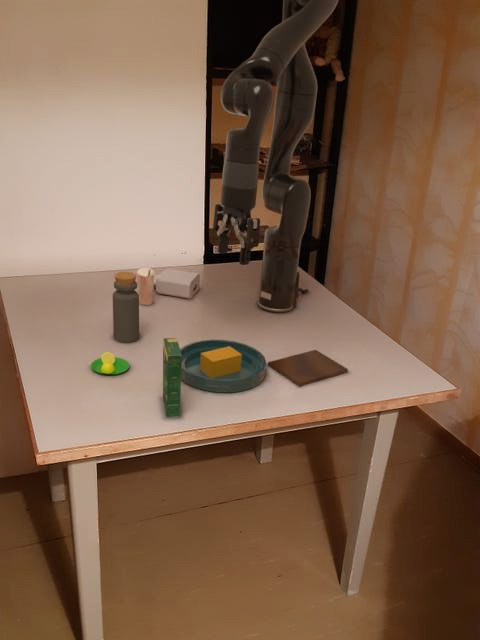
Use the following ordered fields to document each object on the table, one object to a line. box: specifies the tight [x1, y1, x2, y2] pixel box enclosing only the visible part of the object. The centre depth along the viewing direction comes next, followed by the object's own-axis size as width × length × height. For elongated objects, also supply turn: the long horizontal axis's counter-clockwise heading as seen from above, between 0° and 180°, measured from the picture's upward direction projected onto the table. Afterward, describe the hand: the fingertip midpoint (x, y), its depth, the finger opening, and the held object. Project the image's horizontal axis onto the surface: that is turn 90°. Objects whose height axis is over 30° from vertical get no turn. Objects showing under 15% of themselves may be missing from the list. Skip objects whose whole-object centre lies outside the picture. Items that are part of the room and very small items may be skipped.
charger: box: [154, 268, 201, 300], centre depth 181 cm, size 5×9×15 cm
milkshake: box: [136, 267, 156, 306], centre depth 170 cm, size 4×5×10 cm
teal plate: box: [180, 339, 267, 393], centre depth 143 cm, size 19×19×3 cm
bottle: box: [112, 271, 140, 344], centre depth 151 cm, size 6×6×15 cm
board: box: [267, 349, 349, 387], centre depth 148 cm, size 14×11×1 cm
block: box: [200, 346, 242, 378], centre depth 143 cm, size 8×5×4 cm, turn 125°
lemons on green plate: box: [90, 351, 130, 375], centre depth 141 cm, size 8×8×3 cm
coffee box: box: [162, 337, 182, 419], centre depth 126 cm, size 8×3×13 cm, turn 10°
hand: (233, 258), depth 149 cm, fingers open, 8 cm apart
